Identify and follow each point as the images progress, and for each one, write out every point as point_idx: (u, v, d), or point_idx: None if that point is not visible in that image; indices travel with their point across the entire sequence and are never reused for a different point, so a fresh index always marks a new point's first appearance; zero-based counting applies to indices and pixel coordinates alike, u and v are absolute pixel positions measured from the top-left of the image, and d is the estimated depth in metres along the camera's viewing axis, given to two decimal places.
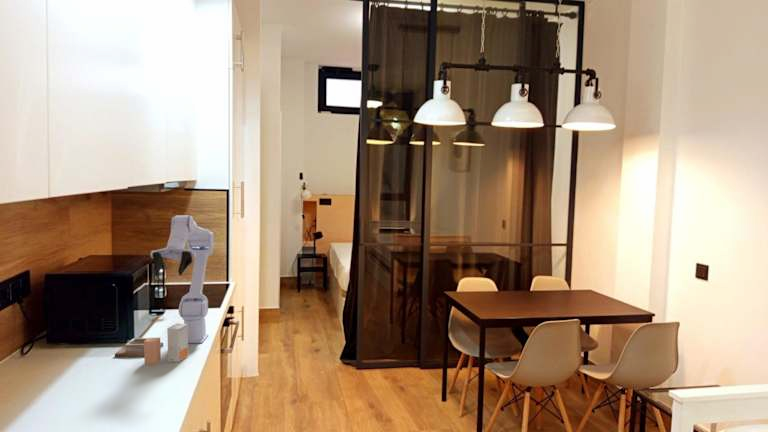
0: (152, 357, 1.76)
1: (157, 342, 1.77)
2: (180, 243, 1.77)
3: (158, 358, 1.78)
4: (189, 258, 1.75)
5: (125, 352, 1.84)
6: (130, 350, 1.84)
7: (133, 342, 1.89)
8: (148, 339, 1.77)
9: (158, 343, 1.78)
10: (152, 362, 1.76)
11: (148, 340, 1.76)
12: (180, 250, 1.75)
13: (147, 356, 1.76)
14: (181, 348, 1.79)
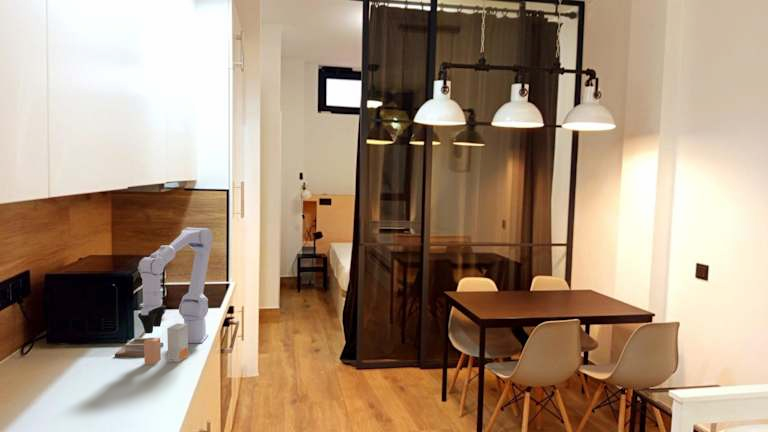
0: (152, 357, 1.76)
1: (157, 342, 1.77)
2: (144, 299, 1.77)
3: (158, 358, 1.78)
4: None
5: (125, 352, 1.84)
6: (130, 350, 1.84)
7: (133, 342, 1.89)
8: (148, 339, 1.77)
9: (158, 343, 1.78)
10: (152, 362, 1.76)
11: (148, 340, 1.76)
12: None
13: (147, 356, 1.76)
14: (181, 348, 1.79)
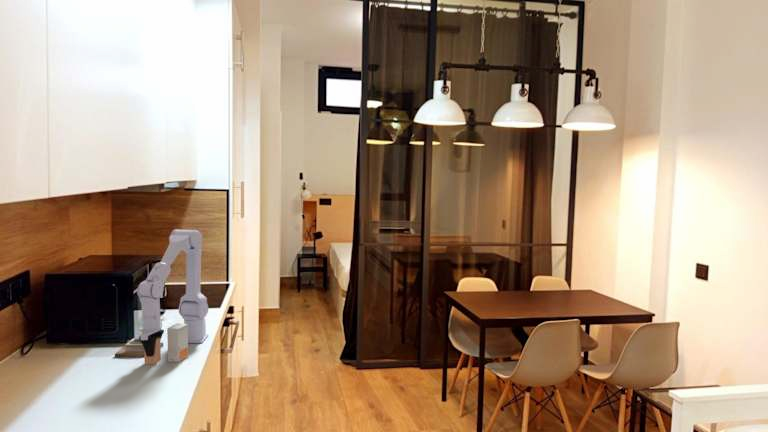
0: (152, 357, 1.76)
1: (157, 342, 1.77)
2: (143, 323, 1.75)
3: (158, 358, 1.78)
4: None
5: (125, 352, 1.84)
6: (130, 350, 1.84)
7: (133, 342, 1.89)
8: None
9: (158, 343, 1.78)
10: (152, 362, 1.76)
11: None
12: None
13: None
14: (181, 348, 1.79)
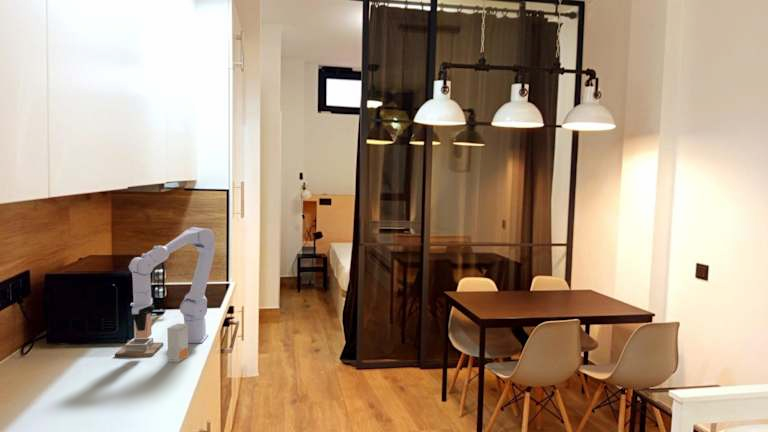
0: (143, 331, 1.82)
1: (147, 317, 1.82)
2: (134, 298, 1.80)
3: (149, 332, 1.84)
4: None
5: (125, 352, 1.84)
6: (130, 350, 1.84)
7: (133, 342, 1.89)
8: None
9: (149, 318, 1.84)
10: (143, 336, 1.82)
11: None
12: None
13: None
14: (181, 348, 1.79)
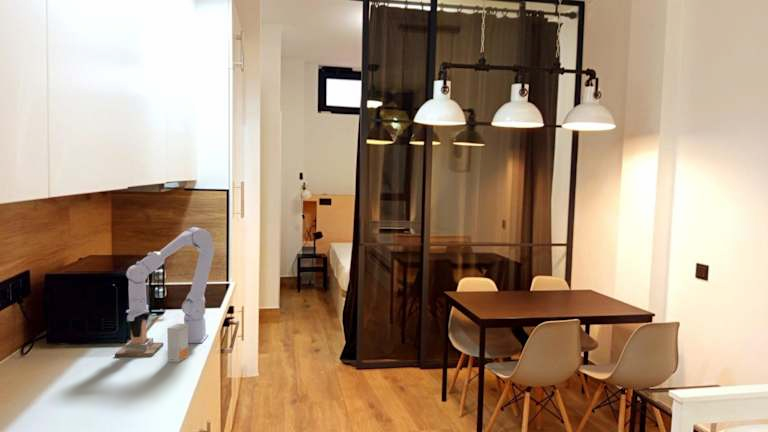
0: (138, 338, 1.86)
1: (143, 323, 1.86)
2: (130, 305, 1.84)
3: (144, 339, 1.88)
4: None
5: (125, 352, 1.84)
6: (130, 350, 1.84)
7: None
8: None
9: (144, 325, 1.88)
10: (138, 342, 1.86)
11: None
12: None
13: None
14: (181, 348, 1.79)
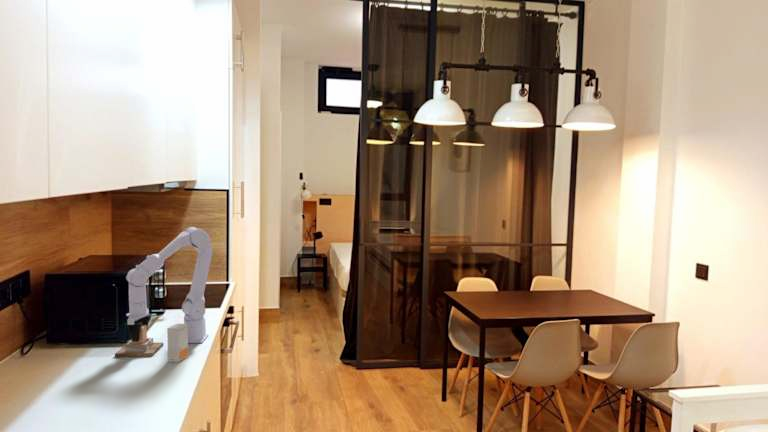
0: (139, 343, 1.86)
1: (143, 329, 1.87)
2: (130, 309, 1.85)
3: None
4: None
5: (125, 352, 1.84)
6: (130, 350, 1.84)
7: None
8: None
9: (144, 330, 1.88)
10: None
11: None
12: None
13: (134, 342, 1.86)
14: (181, 348, 1.79)
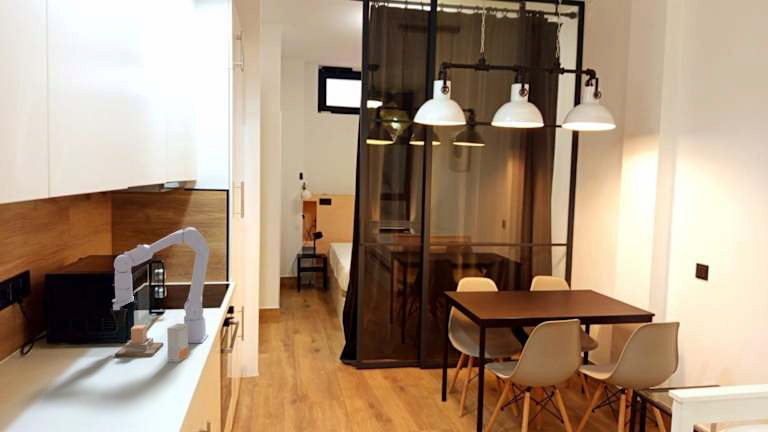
0: (139, 343, 1.86)
1: (143, 329, 1.87)
2: (116, 295, 1.86)
3: None
4: None
5: (125, 352, 1.84)
6: (130, 350, 1.84)
7: None
8: (135, 326, 1.87)
9: (144, 330, 1.88)
10: None
11: (135, 327, 1.86)
12: None
13: (134, 342, 1.86)
14: (181, 348, 1.79)
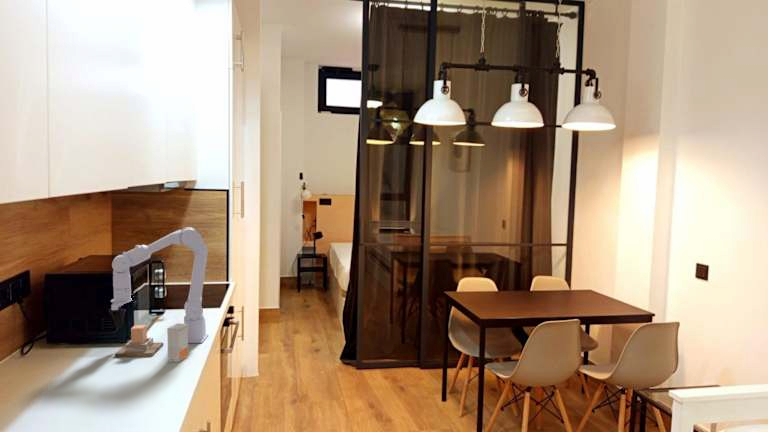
0: (139, 343, 1.86)
1: (143, 329, 1.87)
2: (114, 295, 1.87)
3: None
4: None
5: (125, 352, 1.84)
6: (130, 350, 1.84)
7: None
8: (135, 326, 1.87)
9: (144, 330, 1.88)
10: None
11: (135, 327, 1.86)
12: None
13: (134, 342, 1.86)
14: (181, 348, 1.79)
